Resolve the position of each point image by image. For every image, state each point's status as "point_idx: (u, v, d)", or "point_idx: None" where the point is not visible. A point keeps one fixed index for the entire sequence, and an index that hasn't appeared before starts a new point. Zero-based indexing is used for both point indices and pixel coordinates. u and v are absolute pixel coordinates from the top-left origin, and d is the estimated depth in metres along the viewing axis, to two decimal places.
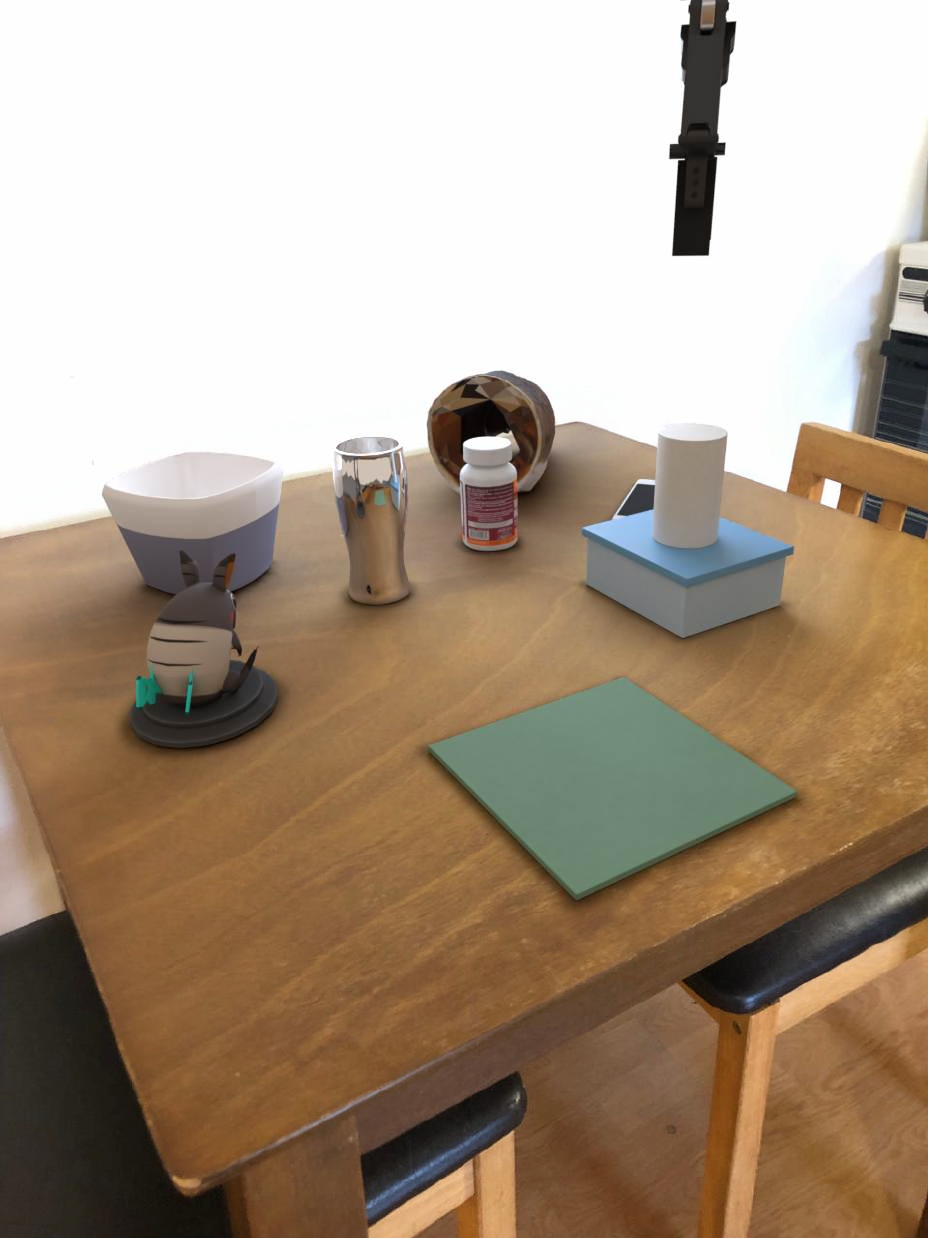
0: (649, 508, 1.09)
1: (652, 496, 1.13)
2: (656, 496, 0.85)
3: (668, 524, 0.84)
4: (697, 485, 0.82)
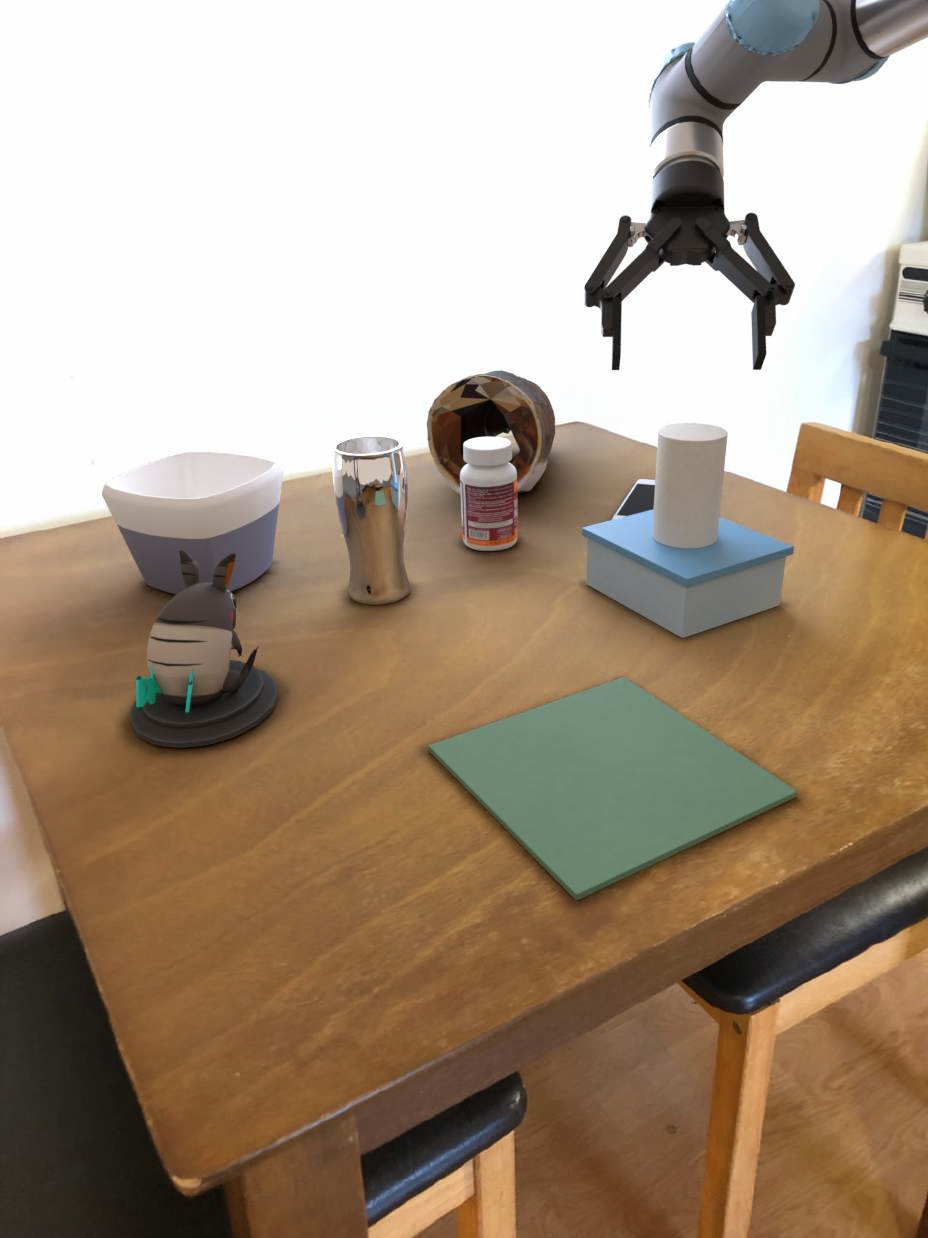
0: (649, 508, 1.09)
1: (652, 496, 1.13)
2: (656, 496, 0.85)
3: (668, 524, 0.84)
4: (697, 485, 0.82)
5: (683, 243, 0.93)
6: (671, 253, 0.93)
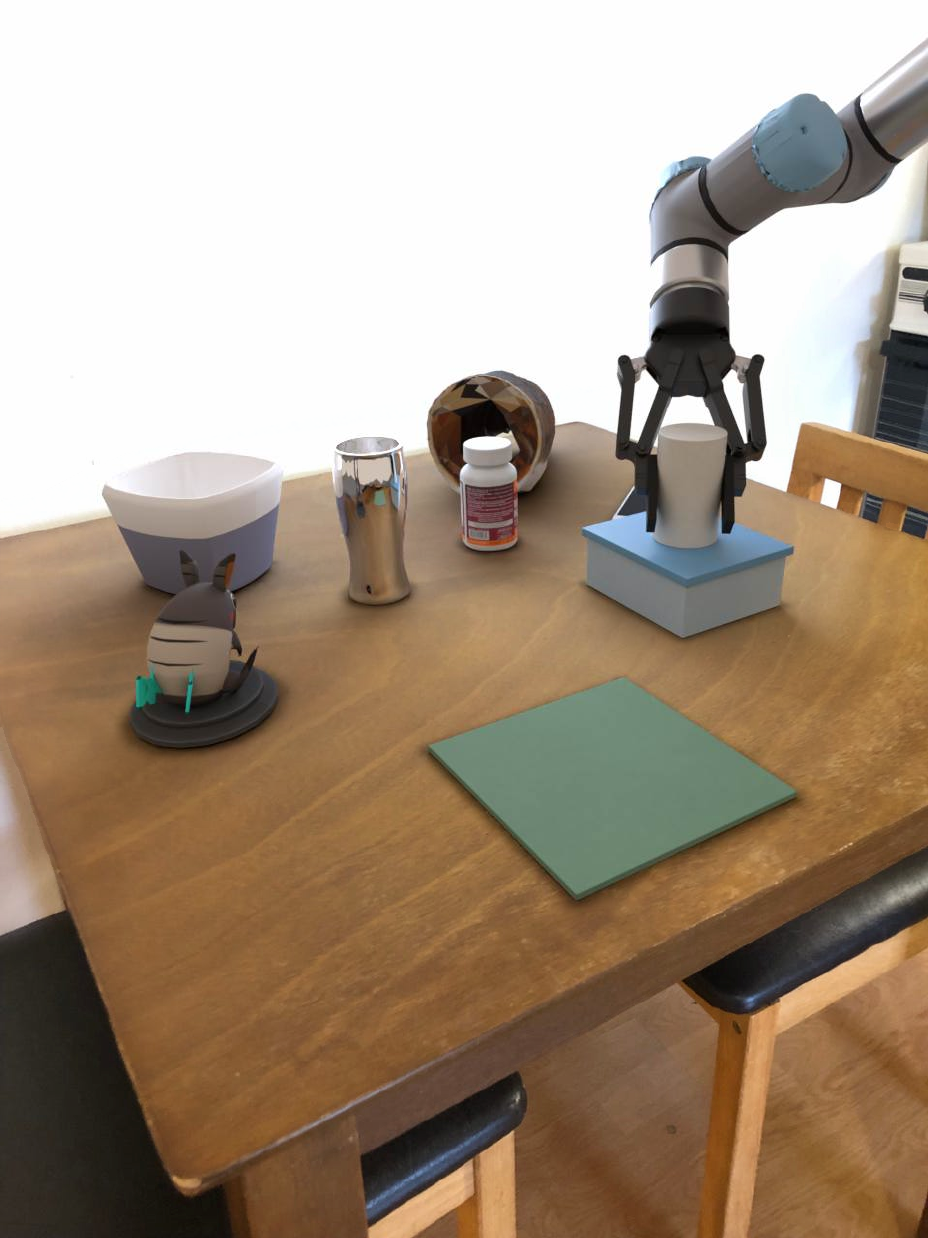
0: None
1: None
2: None
3: (668, 524, 0.84)
4: (697, 485, 0.82)
5: (685, 375, 0.87)
6: (673, 386, 0.87)
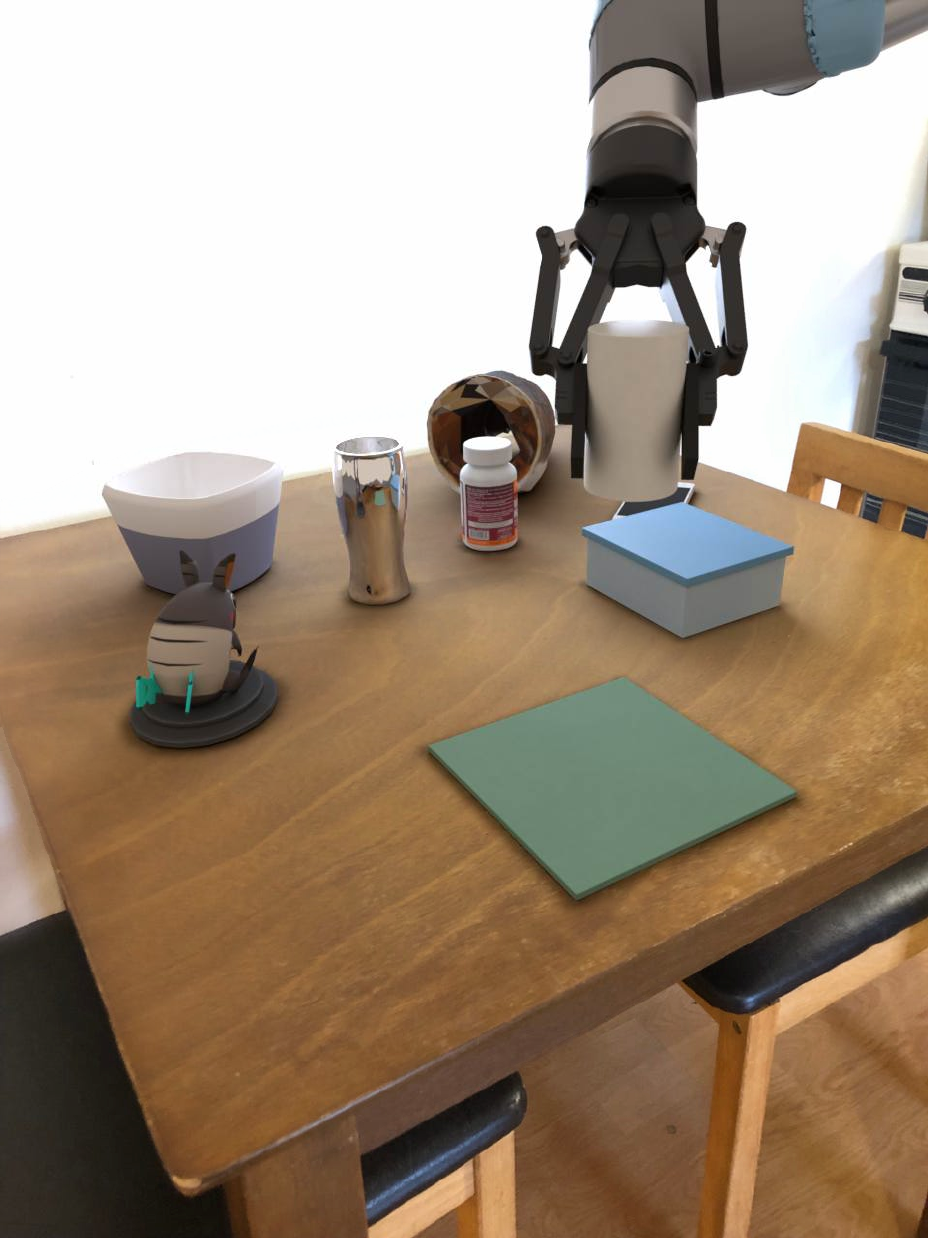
0: (649, 508, 1.09)
1: None
2: (587, 426, 0.58)
3: (604, 466, 0.58)
4: (643, 405, 0.55)
5: (632, 253, 0.60)
6: (613, 268, 0.60)
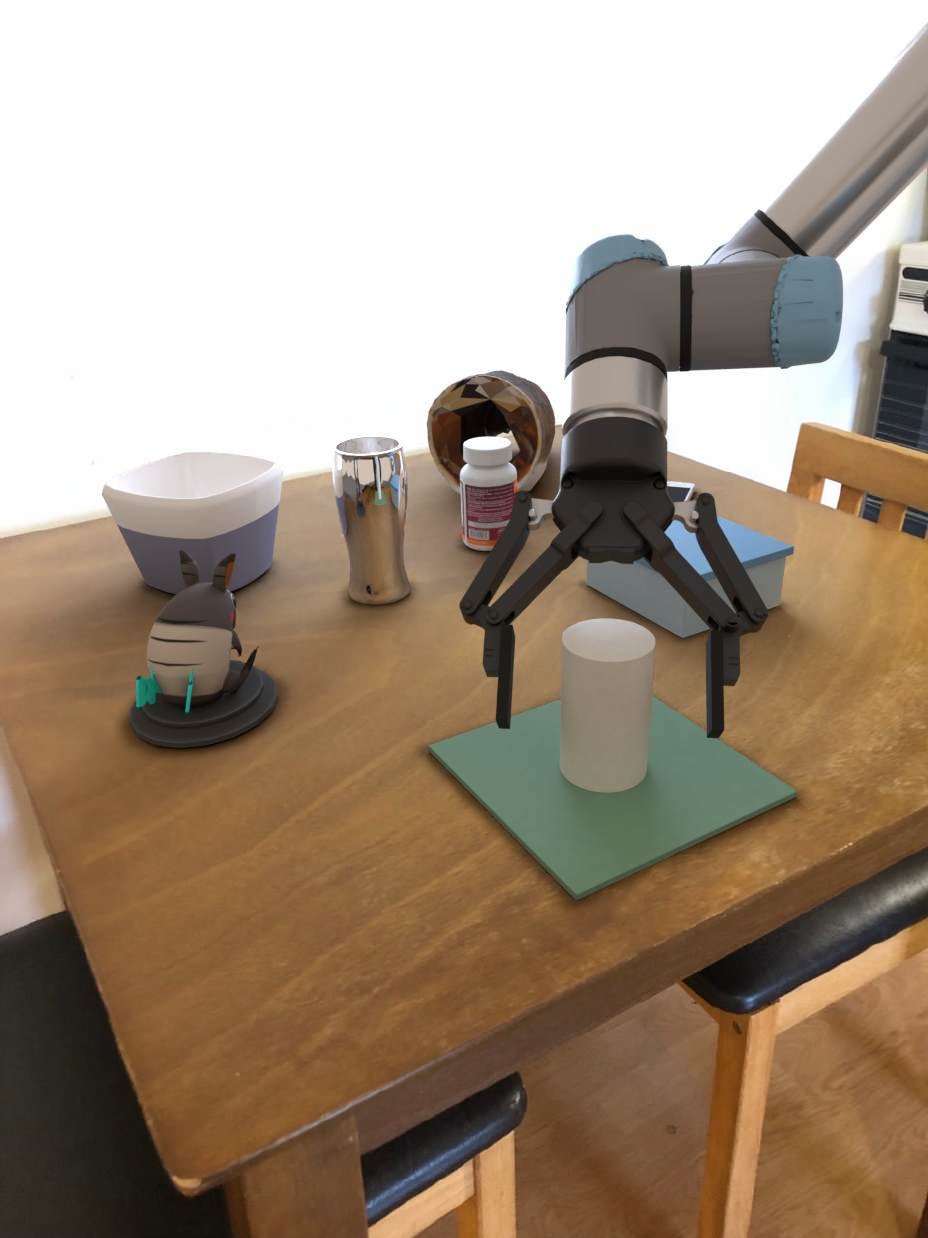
0: None
1: None
2: (561, 720, 0.62)
3: (577, 761, 0.62)
4: (613, 716, 0.59)
5: (605, 538, 0.63)
6: (588, 552, 0.64)
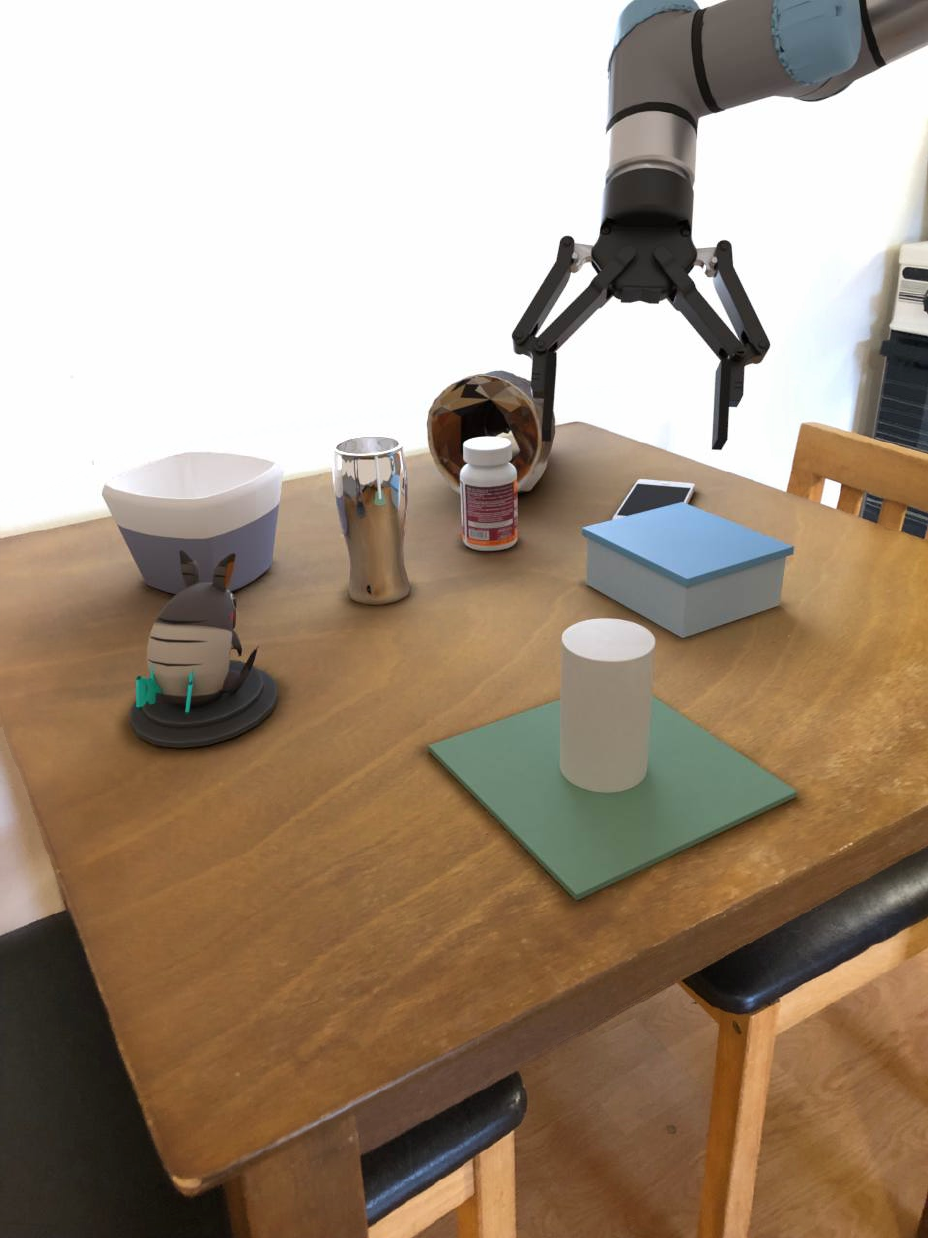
0: (649, 508, 1.09)
1: (652, 496, 1.13)
2: (561, 720, 0.62)
3: (577, 761, 0.62)
4: (613, 716, 0.59)
5: (637, 279, 0.75)
6: (622, 291, 0.75)
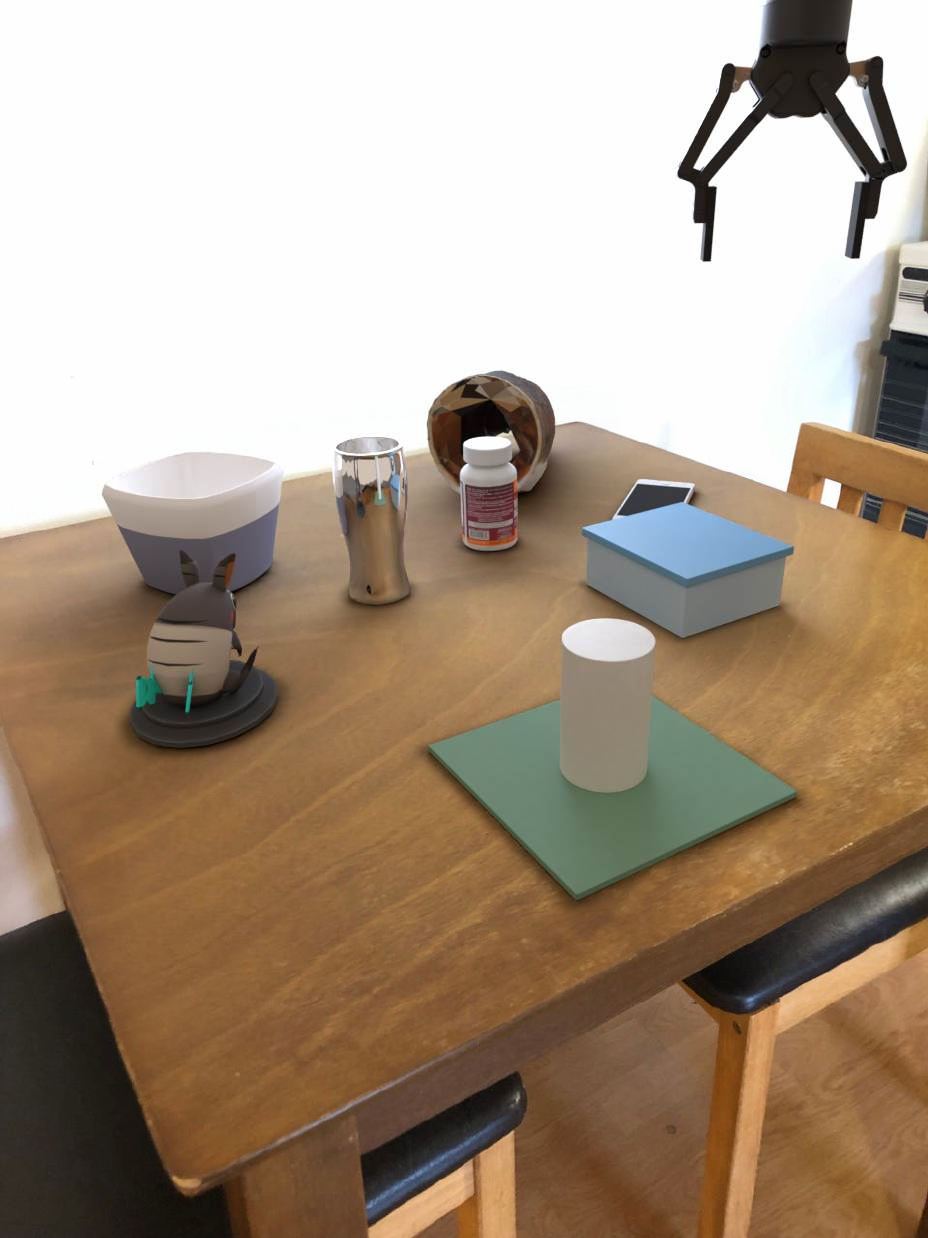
0: (649, 508, 1.09)
1: (652, 496, 1.13)
2: (561, 720, 0.62)
3: (577, 761, 0.62)
4: (613, 716, 0.59)
5: (792, 105, 0.83)
6: (777, 116, 0.84)
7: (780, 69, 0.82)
